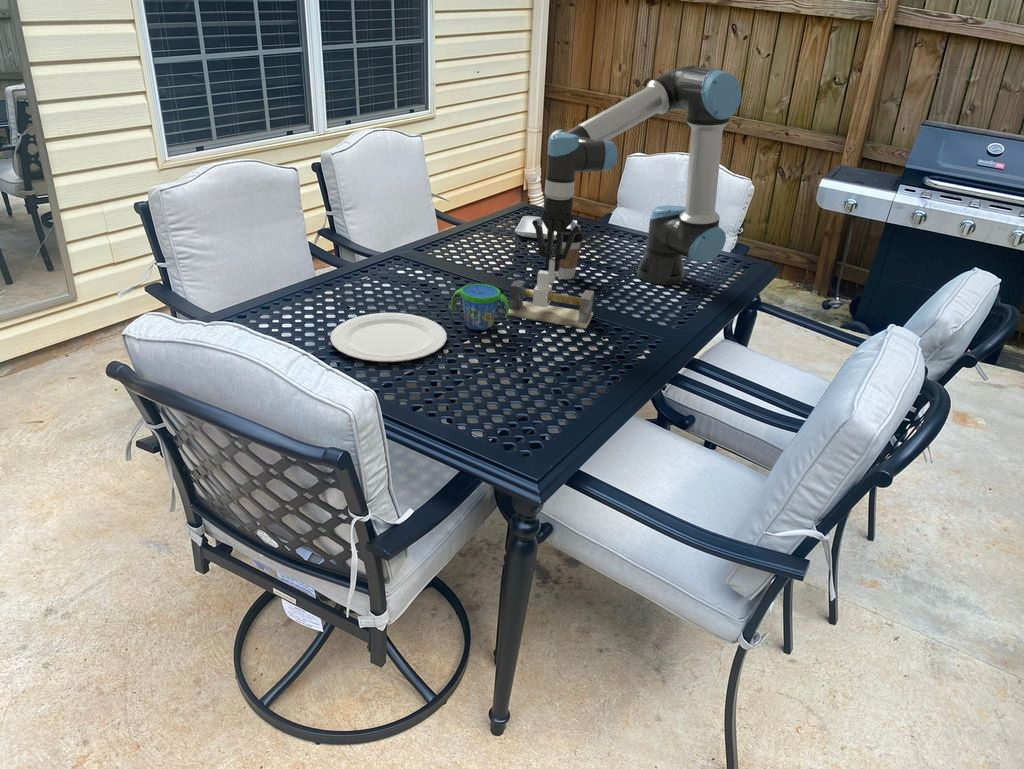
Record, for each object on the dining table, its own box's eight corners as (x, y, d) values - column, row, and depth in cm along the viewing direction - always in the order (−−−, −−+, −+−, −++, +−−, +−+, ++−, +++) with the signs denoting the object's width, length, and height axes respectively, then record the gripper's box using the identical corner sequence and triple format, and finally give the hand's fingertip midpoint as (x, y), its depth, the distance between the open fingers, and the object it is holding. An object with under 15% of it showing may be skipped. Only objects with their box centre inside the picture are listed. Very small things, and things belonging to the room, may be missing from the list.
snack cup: (512, 323, 202) (514, 288, 197) (500, 338, 193) (502, 302, 188) (459, 313, 206) (460, 279, 201) (444, 328, 197) (445, 292, 192)
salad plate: (513, 239, 270) (514, 229, 268) (523, 223, 288) (523, 214, 287) (571, 245, 267) (572, 236, 266) (577, 228, 286) (577, 220, 284)
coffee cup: (568, 282, 232) (573, 236, 225) (546, 276, 236) (550, 230, 229) (583, 276, 238) (588, 230, 231) (561, 269, 242) (565, 225, 235)
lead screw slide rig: (593, 315, 210) (596, 289, 206) (586, 328, 202) (589, 302, 198) (515, 302, 215) (517, 277, 211) (505, 314, 207) (507, 288, 203)
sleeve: (550, 301, 209) (553, 270, 205) (546, 307, 205) (549, 276, 201) (536, 299, 210) (539, 268, 206) (532, 305, 206) (534, 273, 202)
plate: (396, 379, 170) (396, 372, 170) (305, 345, 183) (305, 338, 183) (469, 338, 193) (469, 331, 192) (383, 310, 206) (383, 303, 205)
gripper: (586, 196, 194) (577, 280, 205) (538, 189, 197) (532, 273, 208) (580, 202, 188) (571, 289, 199) (531, 196, 191) (525, 282, 202)
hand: (551, 281), depth 204 cm, fingers closed
